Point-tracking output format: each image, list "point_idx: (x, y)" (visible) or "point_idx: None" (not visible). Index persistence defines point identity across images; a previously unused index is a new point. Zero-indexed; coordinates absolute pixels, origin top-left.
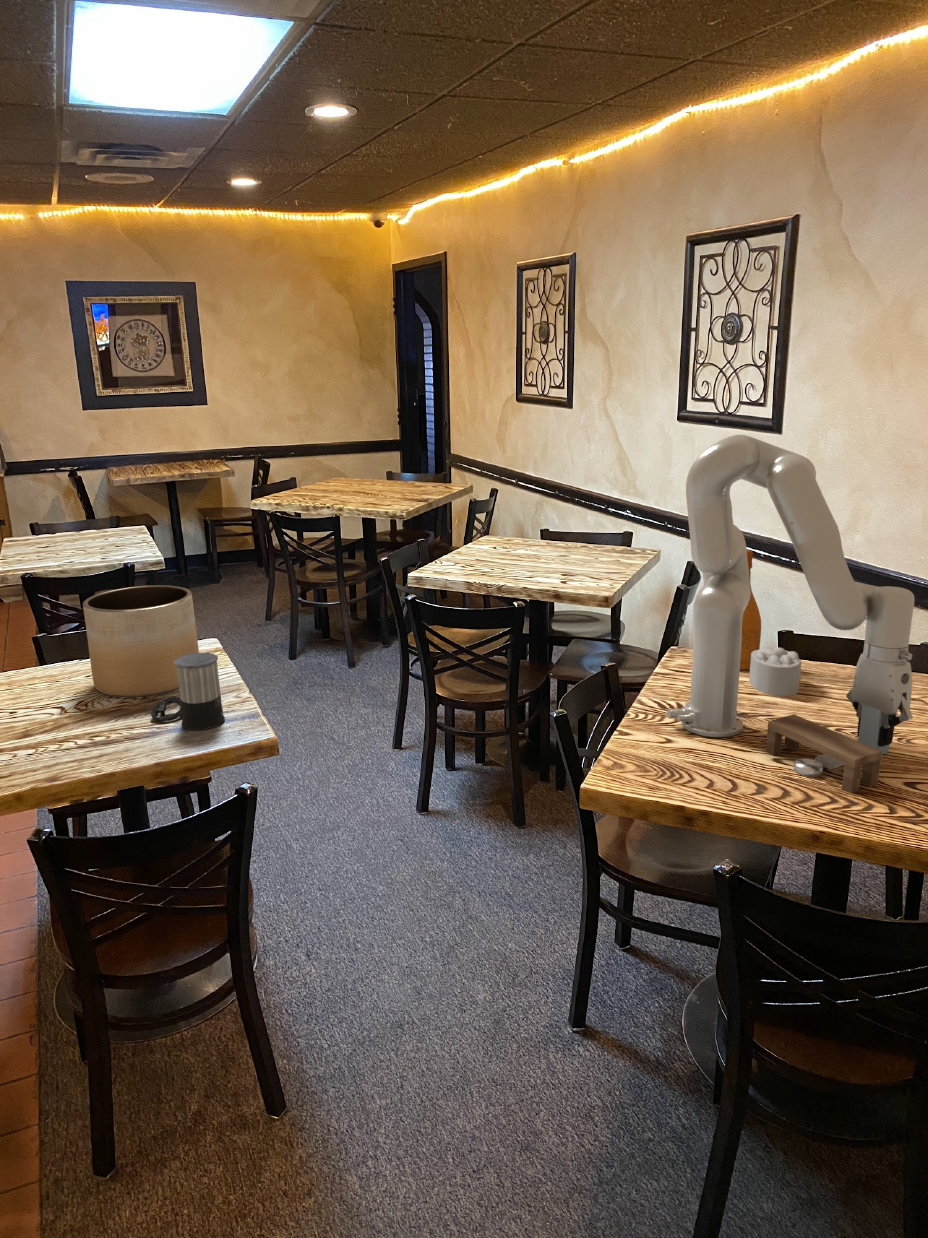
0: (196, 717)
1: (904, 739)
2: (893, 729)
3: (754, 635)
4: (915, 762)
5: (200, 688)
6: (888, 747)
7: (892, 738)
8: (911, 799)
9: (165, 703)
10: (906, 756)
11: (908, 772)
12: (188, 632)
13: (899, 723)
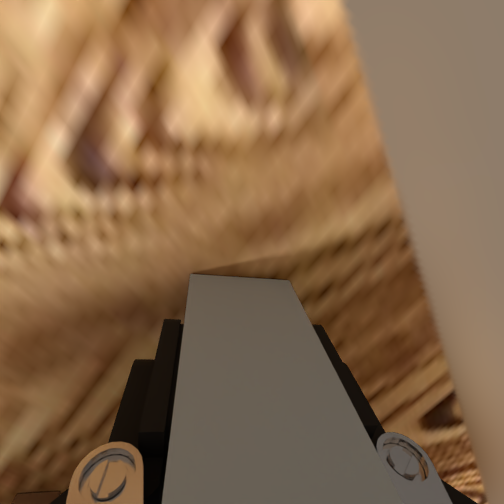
0: None
1: (258, 29)
2: (380, 429)
3: None
4: (409, 275)
5: None
6: (294, 297)
7: (350, 374)
8: (460, 465)
9: None
10: (361, 252)
11: (413, 362)
12: None
13: (464, 500)
